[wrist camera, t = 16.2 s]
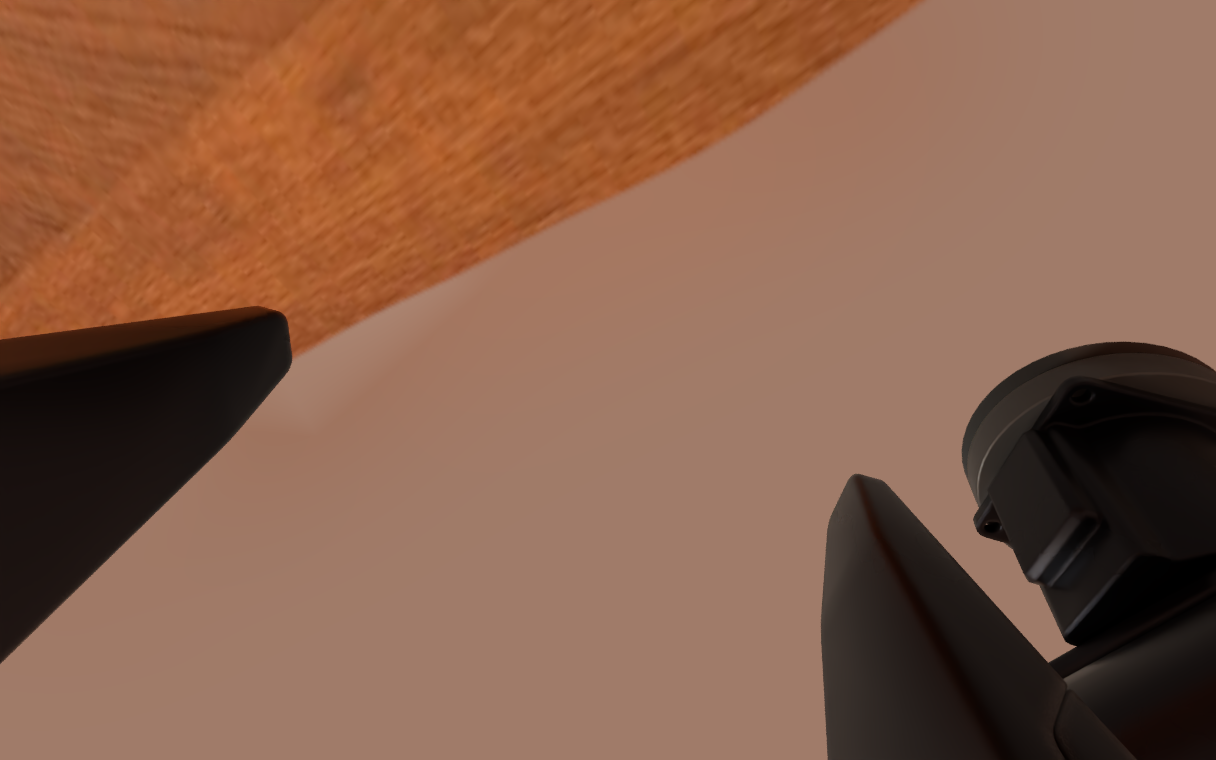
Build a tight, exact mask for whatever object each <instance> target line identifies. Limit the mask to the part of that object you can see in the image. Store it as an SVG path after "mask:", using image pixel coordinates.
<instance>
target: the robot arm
mask: <svg viewBox="0 0 1216 760" xmlns="http://www.w3.org/2000/svg"><path fill="white" fill-rule="evenodd" d="M291 363H292V351H291V343H290V336H289V328H288V322H287V319H286V317H285V316H284V314H282V313H281V312H279V311H275V310H272V309H268V308H265V307H261V306H253V307H245V308H238V309H230V310H222V311H215V312H207V313H200V314H192V315H185V316H177V317H169V318H162V319H154V320H147V321H139V322H131V323H124V324H116V325H109V326H101V327H93V328H86V329H78V330H71V331H63V332H55V333H48V334H40V335H33V336H25V337H17V338H10V339H2V340H0V664H1V663H2V662H3V661H4V660H5V659H6V658H7V657H8V656H9V655H10V654H11V653H12V652H13V651H14V650H15V649H16V648H17V647H18V646H19V645H20V644H21V643H22V642H23V641H24V640H25V639H26V638H28V637H29V635H30V634H32V633H33V632H34V631H35V630H36V629H37V628H38V627H39V626H40V625H41V624H42V623H43V622H44V621H45V620H46V619H47V618H48V617H49V616H50V615H51V614H52V613H53V612H54V611H55V610H56V609H57V608H58V607H59V606H60V605H61V604H62V603H64V602H65V601H66V599H68V598H69V597H70V596H71V595H72V594H73V593H74V592H75V591H76V590H77V589H78V588H79V587H80V586H81V585H82V584H83V583H84V582H85V581H86V580H87V579H88V578H89V577H90V576H91V575H92V574H93V573H94V572H95V571H96V570H97V569H98V568H99V567H100V566H101V565H103V563H105V562H106V561H107V560H108V559H109V558H110V557H111V556H112V555H113V554H114V553H115V552H116V551H117V550H118V549H119V548H120V547H121V546H122V545H123V544H124V543H125V542H126V541H127V540H128V539H129V538H130V537H131V536H132V535H133V534H134V533H135V532H136V531H137V530H138V529H140V528H141V527H142V526H143V525H144V524H145V523H146V521H148V520H149V519H150V518H151V517H152V516H153V515H154V514H155V513H156V512H157V511H158V510H159V509H160V508H161V507H162V506H163V505H164V504H165V503H166V502H167V501H168V500H169V499H170V498H171V497H172V496H173V495H175V494H176V493H177V492H178V490H179V489H181V488H182V487H183V486H184V485H185V484H186V483H187V482H188V481H189V480H190V479H191V478H192V477H193V476H194V475H195V474H196V473H197V472H198V471H199V470H200V469H201V468H202V467H203V466H204V465H205V464H206V463H207V462H208V461H209V460H210V459H211V458H212V457H214V456H215V455H216V454H217V453H218V452H219V451H220V450H221V449H222V448H223V447H224V446H225V445H226V444H227V442H229V441H230V440H231V438H232V437H233V436H234V435H235V434H236V433H237V432H238V430H239V429H240V428H241V427H242V426H243V425H244V423H245V422H246V421H247V420H248V419H249V417H250V416H251V415H252V414H253V413H254V412H255V410H256V409H257V408H258V407H259V406H260V404H261V403H262V402H263V401H264V400H265V398H266V397H267V396H268V395H269V394H270V393H271V391H272V390H273V389H274V388H275V386H276V385H277V384H278V383H279V382H280V381H281V379H282V378H283V377H284V376H285V374H286V373H287V372H288V371H289V368H290V366H291ZM1080 389H1086V392H1085V393H1084V394H1083V395H1081V396H1079V397H1072V395H1073V393H1075V392H1076V391H1077V390H1080ZM987 491H988V496H987V497H986V499H985V500H984V502H983V503H982V505H981V506H980V508H979V509H978V511H977V512H976V514H975V516H974V519H973V521H974V524H975V527H976V529H977V532H979V534H980V535H982V536H984V537H986V538H990V539H993V540H997V541H1000V542H1004V543H1007V544H1011V546H1012V548H1013V550H1014V553H1015V555H1016V557H1017V560H1018V562H1019V564H1020V566H1021V569H1022V570H1023V573H1024V575H1025V577H1026V579H1027V580H1028V581H1029V582H1031V583H1034V584H1037V585H1040V588H1041V590H1042V592H1043V594H1044V596H1045V599H1046V601H1047V603H1048V605H1049V607H1050V609H1051V612H1052V614H1053V616H1054V618H1055V620H1056V622H1057V625H1058V627H1059V629H1060V631H1061V634H1062V636H1063V638H1064V640H1065V641H1066V642H1067V643H1069V644H1071V645H1074V646H1077V647H1075V648H1073V649H1072V650H1070V651H1068V652H1066V653H1065V654H1063V655H1061V656H1060V657H1058V658H1056V659H1054V660H1052V661H1051V662H1049V663H1048V662H1047V661H1046V660H1045V659H1044V658H1043V657H1042V656H1041V654H1040V653H1039V652H1038V651H1037V650H1036V649H1035V648H1034V647H1033V646H1032V644H1031V643H1030V642H1029V641H1028V640H1027V639H1026V638H1025V637H1024V636H1023V635H1022V633H1020V631H1019V630H1018V629H1017V628H1016V627H1015V626H1014V625H1013V623H1012V622H1011V621H1010V620H1009V619H1008V618H1007V617H1006V616H1005V615H1004V613H1003V612H1002V611H1001V610H1000V609H999V608H998V607H997V606H996V605H995V604H994V602H993V601H992V600H991V599H990V598H989V597H988V596H987V595H986V594H985V592H984V591H983V590H982V589H981V588H980V587H979V586H978V585H977V584H976V583H975V581H973V579H972V578H971V577H970V576H969V575H968V574H967V573H966V571H965V570H964V569H963V568H962V567H961V566H960V565H959V564H958V563H957V562H956V560H955V559H954V558H953V557H952V556H951V555H950V554H949V553H948V552H947V551H946V549H944V547H943V546H942V545H941V544H940V543H939V542H938V540H937V539H936V538H935V537H934V536H933V535H932V534H931V533H930V532H929V530H928V529H927V528H926V527H925V526H924V525H923V524H922V523H921V522H920V521H919V520H918V518H917V517H916V516H915V515H914V514H913V513H912V512H911V511H910V509H909V508H908V507H907V506H906V505H905V504H904V503H903V502H902V501H901V500H900V498H898V496H897V495H896V494H895V493H894V492H893V491H892V490H891V488H890V487H889V486H888V485H887V484H886V483H885V482H883V481H882V480H879V479H875V478H872V477H868V476H864V475H861V474H854V475H852V476H851V477H850V479H849V480H848V482H847V484H846V486H845V488H844V490H843V492H842V494H841V496H840V498H839V500H838V502H837V504H836V507H835V509H834V511H833V513H832V515H831V518H830V521H829V525H828V530H827V543H826V557H825V572H824V586H823V599H822V614H821V644H822V661H823V680H824V696H825V697H824V698H825V715H826V732H827V733H826V735H827V753H828V760H1216V408H1213V407H1209V406H1205V405H1201V404H1197V403H1193V402H1189V401H1185V400H1181V399H1176V398H1172V397H1168V396H1164V395H1160V394H1156V393H1152V392H1148V391H1144V390H1140V389H1136V388H1132V387H1128V386H1124V385H1120V384H1116V383H1112V382H1108V381H1104V380H1100V379H1096V378H1092V377H1088V376H1079V375H1078V376H1073V377H1070V378H1068V379H1066V380H1064V381H1063V382H1062V383H1061V384H1060V385H1059V387H1058V388H1057V390H1056V391H1055V393H1054V394H1053V396H1052V398H1051V399H1050V401H1049V402H1048V404H1047V405H1046V407H1045V408H1044V410H1043V411H1042V413H1041V414H1040V416H1039V417H1038V419H1037V421H1036V422H1035V424H1034V425H1033V427H1032V428H1031V430H1028V431H1027V432H1025V433H1023V434H1022V436H1021V437H1020V439H1019V440H1018V442H1017V443H1016V445H1015V446H1014V448H1013V449H1012V451H1011V453H1010V454H1009V456H1008V457H1007V459H1006V460H1005V462H1004V463H1003V465H1002V466H1001V468H1000V469H999V471H998V473H997V474H996V476H995V477H994V479H993V480H992V482H991V483H990V485H989V486H988V488H987ZM991 521H994V522H996V523H995V524H992V525H985V524H986V523H988V522H991Z"/></svg>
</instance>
